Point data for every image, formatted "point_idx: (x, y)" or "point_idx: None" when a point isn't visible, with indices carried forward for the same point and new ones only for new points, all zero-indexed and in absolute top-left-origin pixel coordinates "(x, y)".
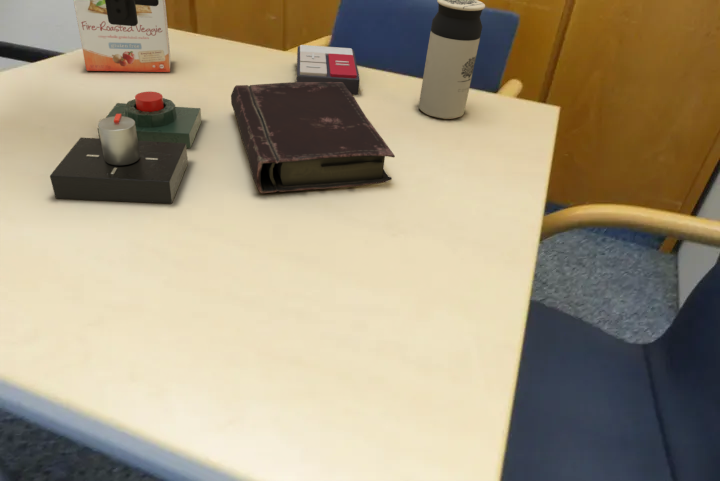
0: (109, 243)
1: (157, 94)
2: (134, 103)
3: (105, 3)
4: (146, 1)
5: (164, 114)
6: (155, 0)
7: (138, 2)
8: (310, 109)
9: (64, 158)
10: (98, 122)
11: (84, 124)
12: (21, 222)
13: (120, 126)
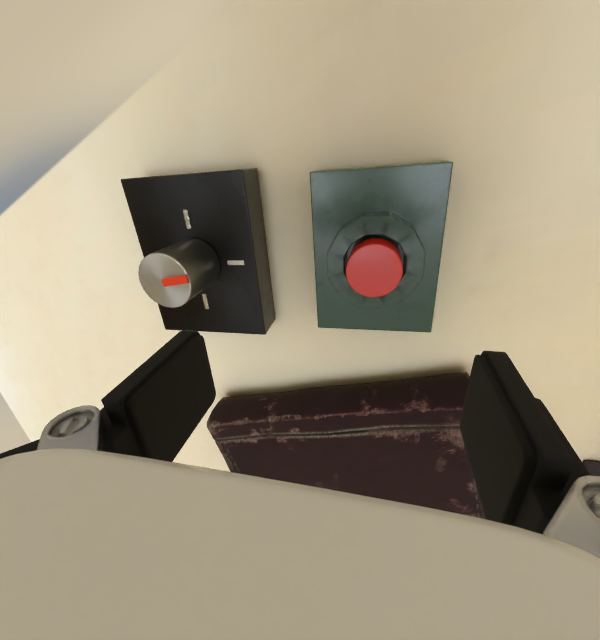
0: (101, 271)
1: (386, 286)
2: (381, 232)
3: (146, 361)
4: (468, 406)
5: (341, 296)
6: (463, 439)
7: (471, 374)
8: (371, 489)
9: (168, 177)
10: (155, 253)
11: (400, 97)
12: (90, 159)
13: (155, 291)
